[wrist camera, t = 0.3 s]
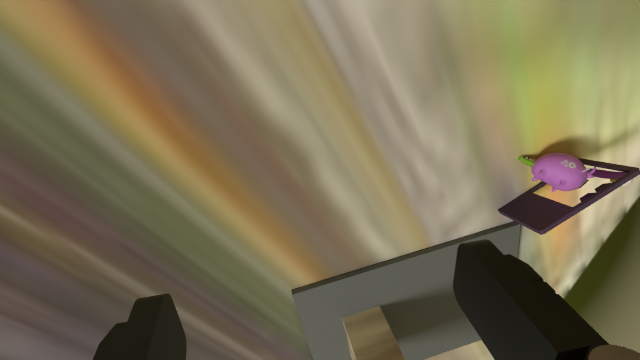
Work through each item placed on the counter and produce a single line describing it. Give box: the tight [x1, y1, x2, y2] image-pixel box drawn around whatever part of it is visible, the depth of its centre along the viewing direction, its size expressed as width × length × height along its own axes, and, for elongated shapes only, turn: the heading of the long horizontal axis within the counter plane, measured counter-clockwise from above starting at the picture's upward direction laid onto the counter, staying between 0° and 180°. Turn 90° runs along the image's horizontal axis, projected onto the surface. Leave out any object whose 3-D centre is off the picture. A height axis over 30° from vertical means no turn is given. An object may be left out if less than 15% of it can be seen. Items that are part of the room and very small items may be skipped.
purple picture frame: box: [498, 153, 640, 235], centre depth 32 cm, size 7×5×9 cm
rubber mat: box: [292, 221, 521, 360], centre depth 39 cm, size 16×24×1 cm
